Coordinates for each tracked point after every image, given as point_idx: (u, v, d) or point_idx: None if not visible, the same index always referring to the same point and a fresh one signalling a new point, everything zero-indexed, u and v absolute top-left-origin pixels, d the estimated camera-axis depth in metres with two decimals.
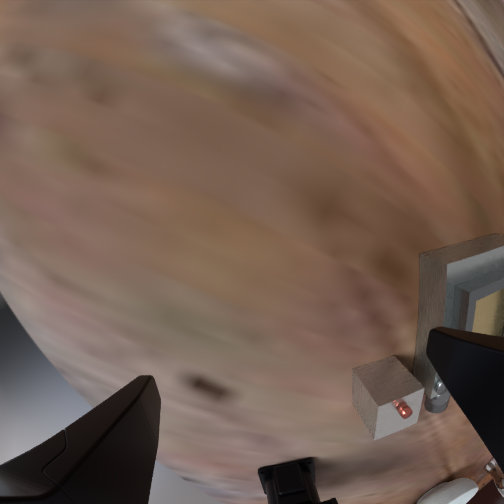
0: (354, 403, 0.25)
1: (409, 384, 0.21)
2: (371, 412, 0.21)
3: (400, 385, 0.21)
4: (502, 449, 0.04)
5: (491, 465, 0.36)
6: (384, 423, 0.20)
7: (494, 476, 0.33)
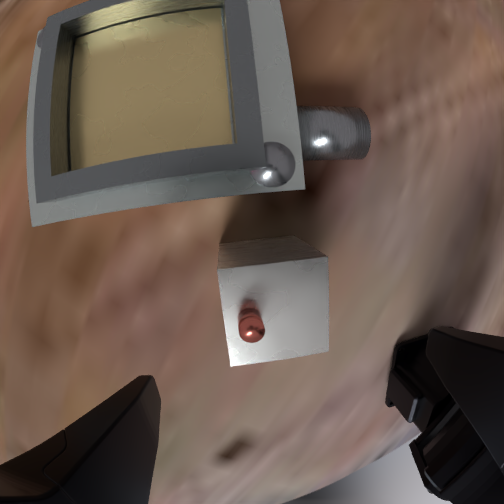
0: None
1: None
2: None
3: None
4: (502, 449, 0.04)
5: None
6: (285, 343, 0.13)
7: None
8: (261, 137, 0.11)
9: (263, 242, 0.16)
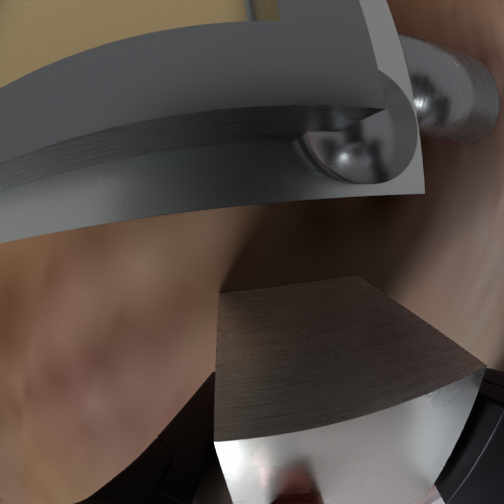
0: None
1: None
2: None
3: None
4: (448, 484, 0.04)
5: None
6: None
7: None
8: (360, 18, 0.02)
9: (308, 297, 0.08)
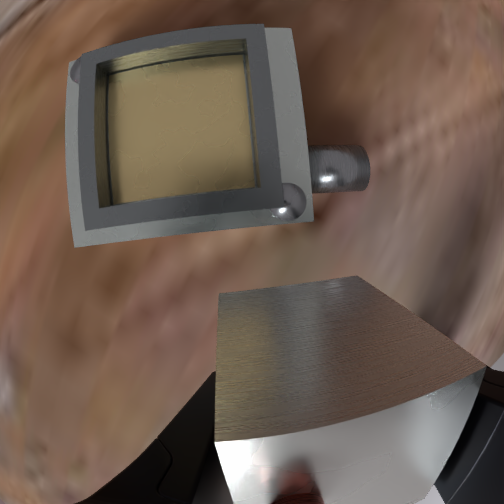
0: None
1: None
2: None
3: None
4: (448, 484, 0.04)
5: None
6: None
7: None
8: (280, 183, 0.14)
9: (308, 297, 0.08)
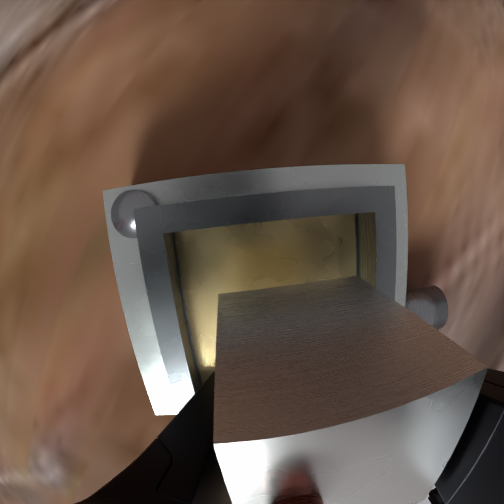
0: None
1: None
2: None
3: None
4: (448, 484, 0.04)
5: None
6: None
7: None
8: None
9: (308, 298, 0.08)
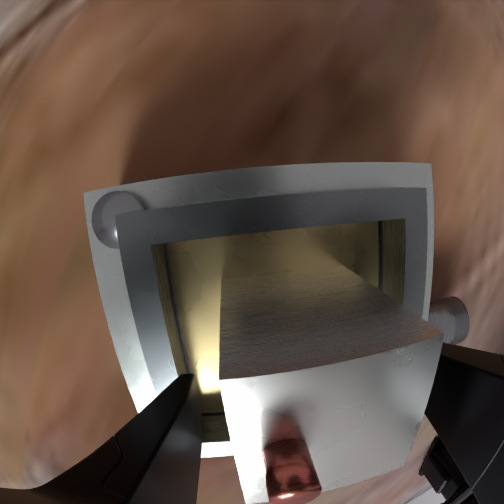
0: None
1: None
2: None
3: None
4: (473, 469, 0.04)
5: None
6: (343, 472, 0.06)
7: None
8: None
9: (297, 282, 0.09)
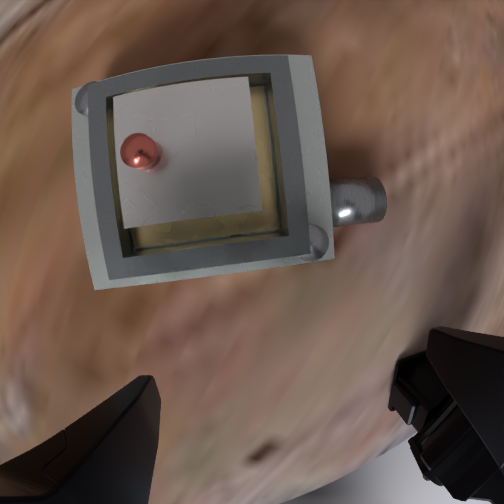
0: None
1: None
2: None
3: None
4: (502, 449, 0.04)
5: None
6: (196, 192, 0.09)
7: None
8: (307, 230, 0.14)
9: None
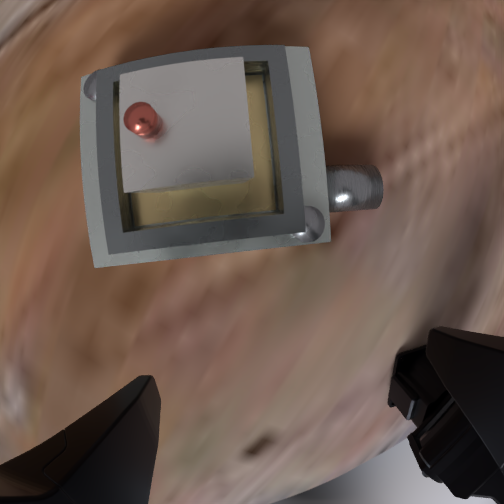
0: (235, 183, 0.15)
1: None
2: (177, 186, 0.11)
3: None
4: (502, 449, 0.04)
5: None
6: (192, 159, 0.09)
7: None
8: (302, 209, 0.14)
9: None
